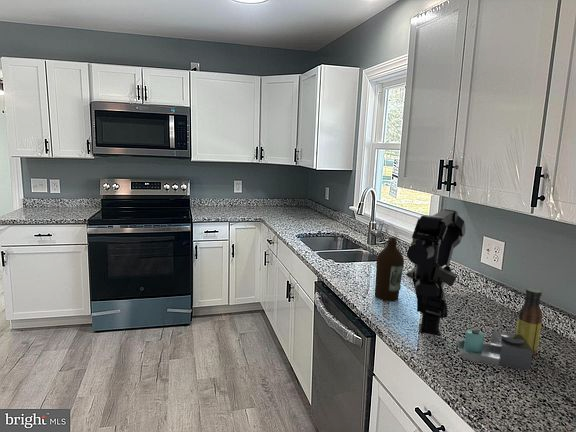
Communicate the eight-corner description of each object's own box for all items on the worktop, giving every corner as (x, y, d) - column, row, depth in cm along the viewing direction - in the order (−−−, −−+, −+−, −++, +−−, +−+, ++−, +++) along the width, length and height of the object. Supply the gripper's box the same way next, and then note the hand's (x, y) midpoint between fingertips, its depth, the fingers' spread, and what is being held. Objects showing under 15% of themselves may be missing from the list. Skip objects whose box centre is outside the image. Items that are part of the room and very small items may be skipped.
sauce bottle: (528, 346, 126) (538, 286, 123) (541, 356, 120) (553, 294, 117) (508, 346, 126) (518, 285, 123) (520, 356, 120) (532, 293, 117)
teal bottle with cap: (461, 346, 123) (464, 325, 122) (479, 349, 122) (482, 327, 120) (465, 354, 118) (468, 332, 117) (483, 357, 117) (486, 334, 116)
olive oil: (367, 294, 164) (373, 235, 160) (385, 291, 170) (391, 233, 166) (387, 303, 156) (393, 241, 151) (405, 299, 161) (412, 239, 157)
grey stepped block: (456, 343, 125) (459, 322, 124) (518, 353, 121) (521, 331, 120) (462, 359, 116) (466, 336, 115) (529, 370, 112) (533, 347, 111)
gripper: (462, 269, 108) (454, 324, 111) (451, 253, 126) (444, 300, 128) (419, 264, 110) (412, 317, 113) (414, 249, 128) (409, 295, 131)
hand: (421, 307), depth 121 cm, fingers open, 9 cm apart
